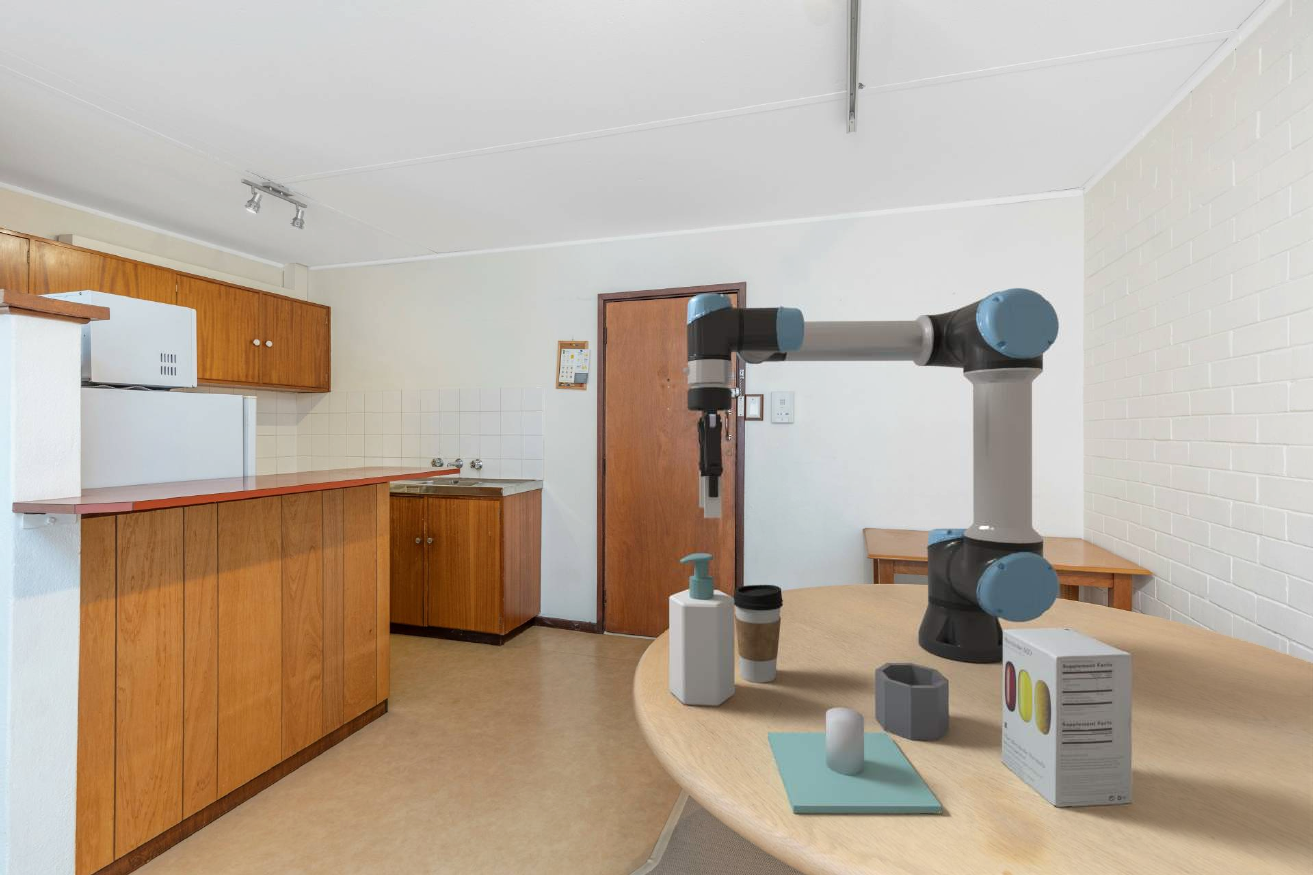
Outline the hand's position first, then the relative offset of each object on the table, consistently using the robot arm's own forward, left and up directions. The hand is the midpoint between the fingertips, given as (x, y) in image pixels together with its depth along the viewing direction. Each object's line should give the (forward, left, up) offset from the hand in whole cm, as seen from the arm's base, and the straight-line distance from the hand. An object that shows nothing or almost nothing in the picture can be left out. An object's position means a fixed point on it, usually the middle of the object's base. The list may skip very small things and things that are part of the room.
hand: (709, 512), depth 101 cm
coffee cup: (-8, 0, -28) cm, 29 cm away
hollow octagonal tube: (-27, +17, -28) cm, 42 cm away
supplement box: (-39, +31, -28) cm, 57 cm away
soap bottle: (+2, +7, -28) cm, 29 cm away
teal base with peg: (-14, +29, -28) cm, 42 cm away
